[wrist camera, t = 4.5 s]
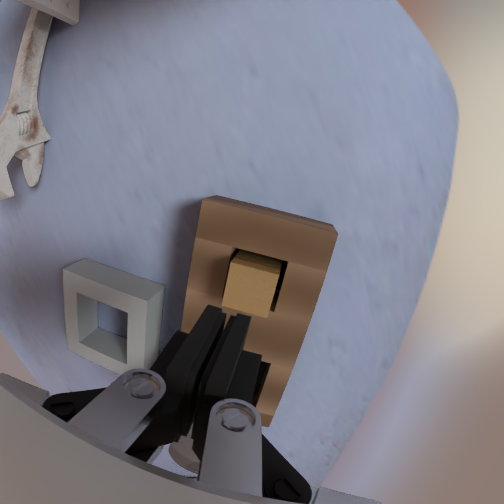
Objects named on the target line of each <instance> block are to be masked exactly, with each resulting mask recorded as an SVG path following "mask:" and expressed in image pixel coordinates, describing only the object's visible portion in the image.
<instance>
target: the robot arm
mask: <svg viewBox="0 0 504 504" xmlns="http://www.w3.org/2000/svg"><path fill="white" fill-rule="evenodd" d="M226 316H227V314H226V313H223V312H222V308H219V307H216V306H212V305H209V304H208V305H207V306H206V308H205V309H204V311H203V313H202V314H201V316H200V317H199V319H198V320H197V322H196V323H195V325H194V327H193V328H192V330H191V331H190V333H185V332H182V331H179V330H178V331H177V332H176V333H175V334H174V336H173V337H172V338H171V340H170V341H169V343H168V344H167V345H166V347H165V348H164V350H163V351H162V352H161V354H160V355H159V357H158V358H157V359H156V361H155V362H154V364H153V365H152V367H151V368H150V369H149V370H148V369H142V368H138V369H131V370H128V371H126V372H125V373H123V374H122V375H121V376H119V377H118V378H117V379H116V380H115V381H114V382H113V383H112V384H110V385H109V386H108V387H107V388H100V389H93V390H86V391H78V392H69V393H60V394H55V395H52V396H51V395H49V391H46V390H43V389H41V388H38V387H36V386H33V385H30V384H28V383H26V382H23V381H21V380H19V379H16V378H14V377H12V376H10V375H7V374H4V373H1V374H0V504H382V503H381V502H378V501H375V500H372V499H367V498H363V497H358V496H354V495H350V494H346V493H342V492H338V491H335V490H331V489H328V488H325V487H321V486H320V487H319V488H315V487H312V486H310V485H309V484H308V482H307V481H306V480H305V479H304V478H303V477H302V476H301V475H300V474H299V473H298V472H297V471H296V470H295V469H294V467H293V466H292V465H291V464H290V463H289V462H288V461H287V460H286V459H285V458H284V457H283V456H282V455H281V454H280V453H279V452H278V451H277V450H276V449H275V447H274V446H273V445H272V444H271V443H270V442H269V441H268V440H267V439H266V438H265V436H264V435H263V434H262V428H261V416H260V413H259V412H258V410H257V409H256V408H255V407H254V406H253V405H251V402H252V398H253V393H254V389H255V385H256V381H257V376H258V372H259V368H260V363H261V359H262V355H260V354H257V353H253V352H249V351H245V350H243V348H244V344H245V340H246V337H247V333H248V329H249V325H250V321H251V316H248V315H244V314H240V313H237V315H236V316H233V315H230V318H229V320H228V322H227V324H226V326H225V328H224V325H225V321H226ZM192 424H193V427H192V434H191V439H193V445H192V450H193V451H194V453H195V454H196V456H197V457H198V459H199V460H200V463H199V469H198V475H197V481H196V480H193V479H190V478H187V477H184V476H181V475H178V474H175V473H172V472H170V471H167V470H164V469H162V468H159V467H156V466H154V465H151V464H152V463H153V462H154V460H155V459H156V458H157V456H158V455H159V454H160V452H161V451H162V449H163V445H166V444H169V443H173V442H177V443H178V442H179V439H180V437H181V435H182V436H185V437H187V435H188V433H189V431H190V428H191V426H192Z"/></svg>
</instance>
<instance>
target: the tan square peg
mask: <svg viewBox="0 0 504 504" xmlns="http://www.w3.org/2000/svg"><path fill="white" fill-rule="evenodd" d="M281 264H282V260H281V259H277V258H273V257H269V256H266V255H262V254H258V253H254V252H250V251H247V250H243V249H240V251H239V252H238V253H237V255H236V256H235V257H234V259H233V260H232V261H231V263H230V268H229V273H228V277H227V282H226V287H225V292H224V296H223V301H222V306H225V307H228V308H232V309H235V310H239V311H242V312H246V313H250V314H253V315H257V316H261V317H264V318H267V317H268V314H269V310H270V307H271V303H272V300H273V296H274V292H275V289H276V285H277V282H278V278H279V274H280V269H281Z"/></svg>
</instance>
